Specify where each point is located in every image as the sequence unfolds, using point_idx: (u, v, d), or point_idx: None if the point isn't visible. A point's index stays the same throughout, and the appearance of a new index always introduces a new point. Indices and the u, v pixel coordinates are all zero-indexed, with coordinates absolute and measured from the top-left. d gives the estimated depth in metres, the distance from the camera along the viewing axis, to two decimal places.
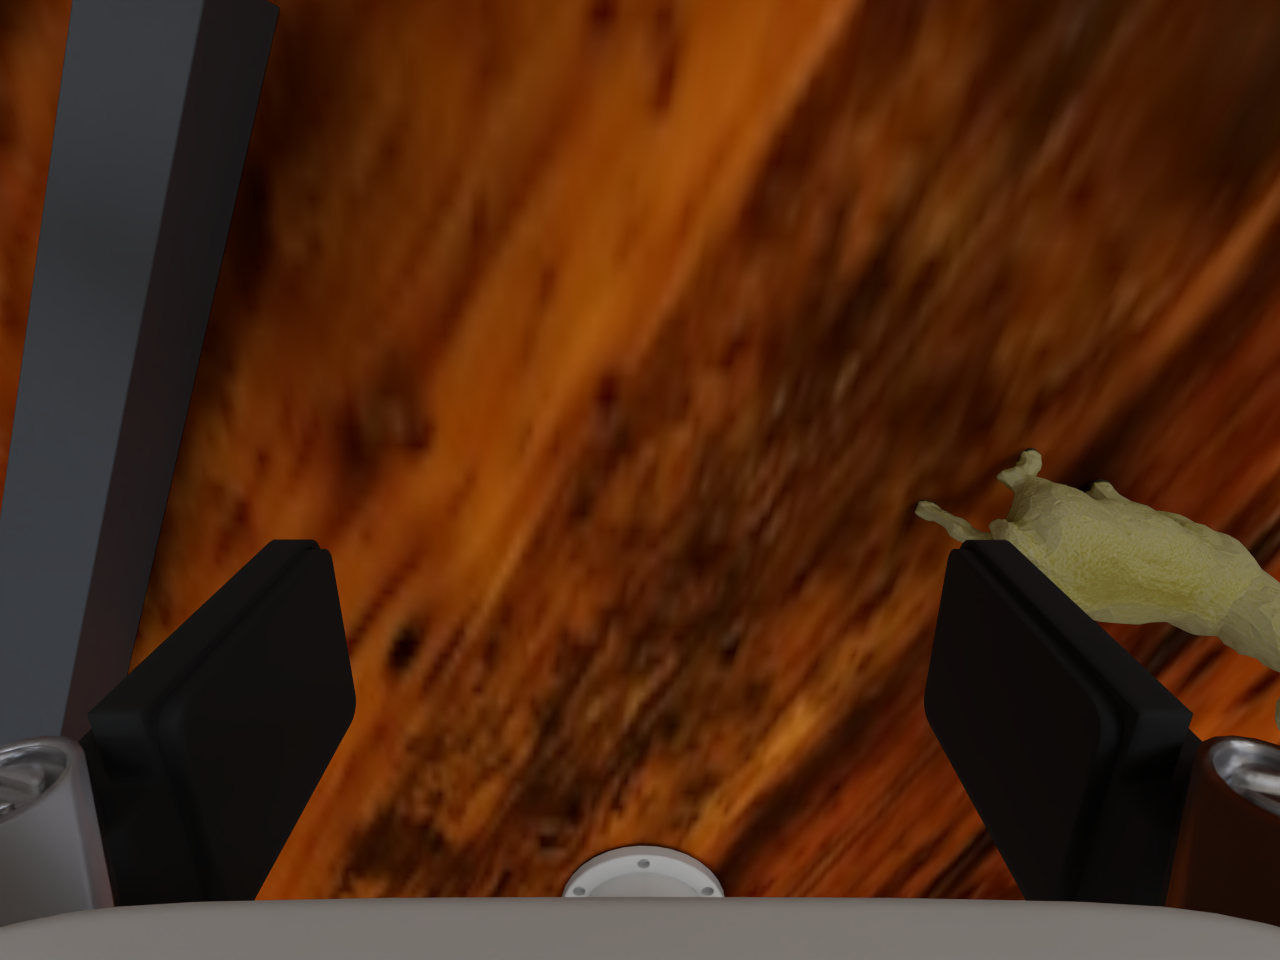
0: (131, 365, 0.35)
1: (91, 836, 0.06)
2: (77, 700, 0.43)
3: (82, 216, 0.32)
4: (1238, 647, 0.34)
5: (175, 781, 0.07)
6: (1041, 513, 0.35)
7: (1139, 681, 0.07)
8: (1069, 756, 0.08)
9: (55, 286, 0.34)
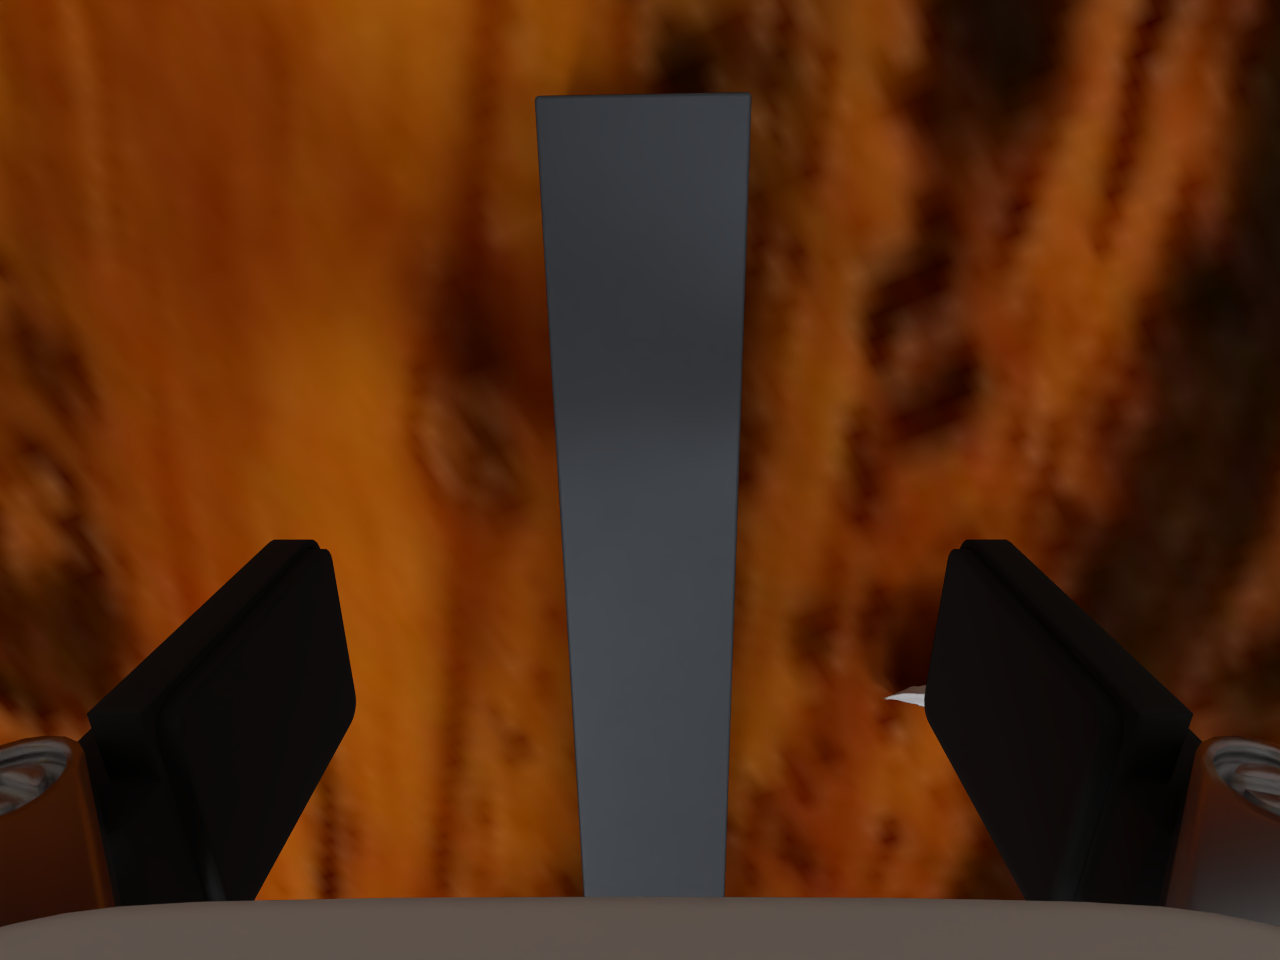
0: None
1: (92, 836, 0.06)
2: None
3: None
4: None
5: (175, 781, 0.07)
6: None
7: (1139, 681, 0.07)
8: (1069, 756, 0.08)
9: None
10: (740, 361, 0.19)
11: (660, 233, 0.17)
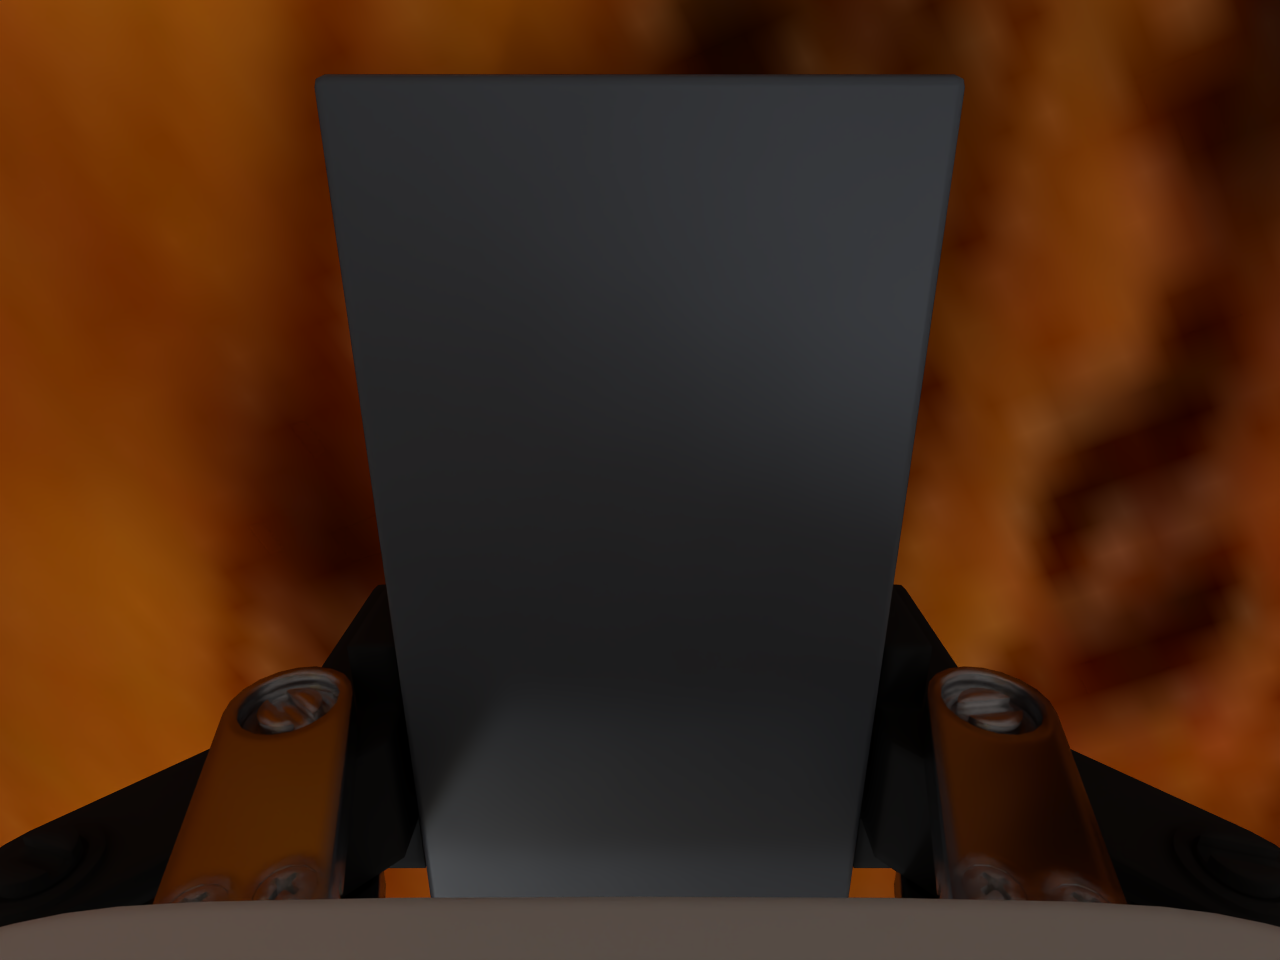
0: None
1: (335, 776, 0.06)
2: None
3: None
4: None
5: None
6: None
7: (900, 622, 0.08)
8: None
9: None
10: (867, 736, 0.08)
11: (681, 453, 0.06)
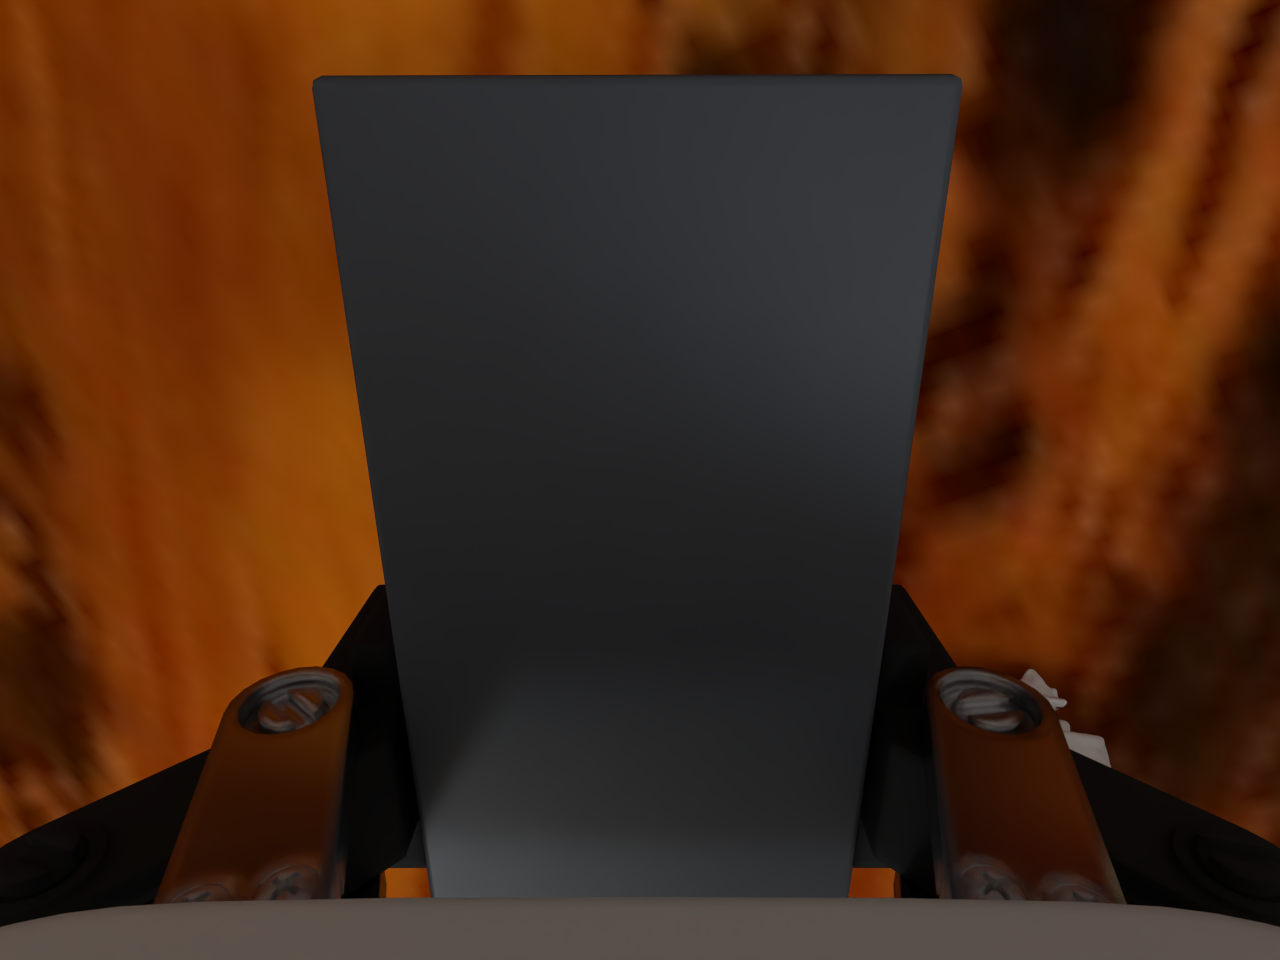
0: None
1: (336, 776, 0.06)
2: None
3: None
4: None
5: None
6: None
7: (899, 622, 0.08)
8: None
9: None
10: (867, 736, 0.08)
11: (679, 453, 0.06)
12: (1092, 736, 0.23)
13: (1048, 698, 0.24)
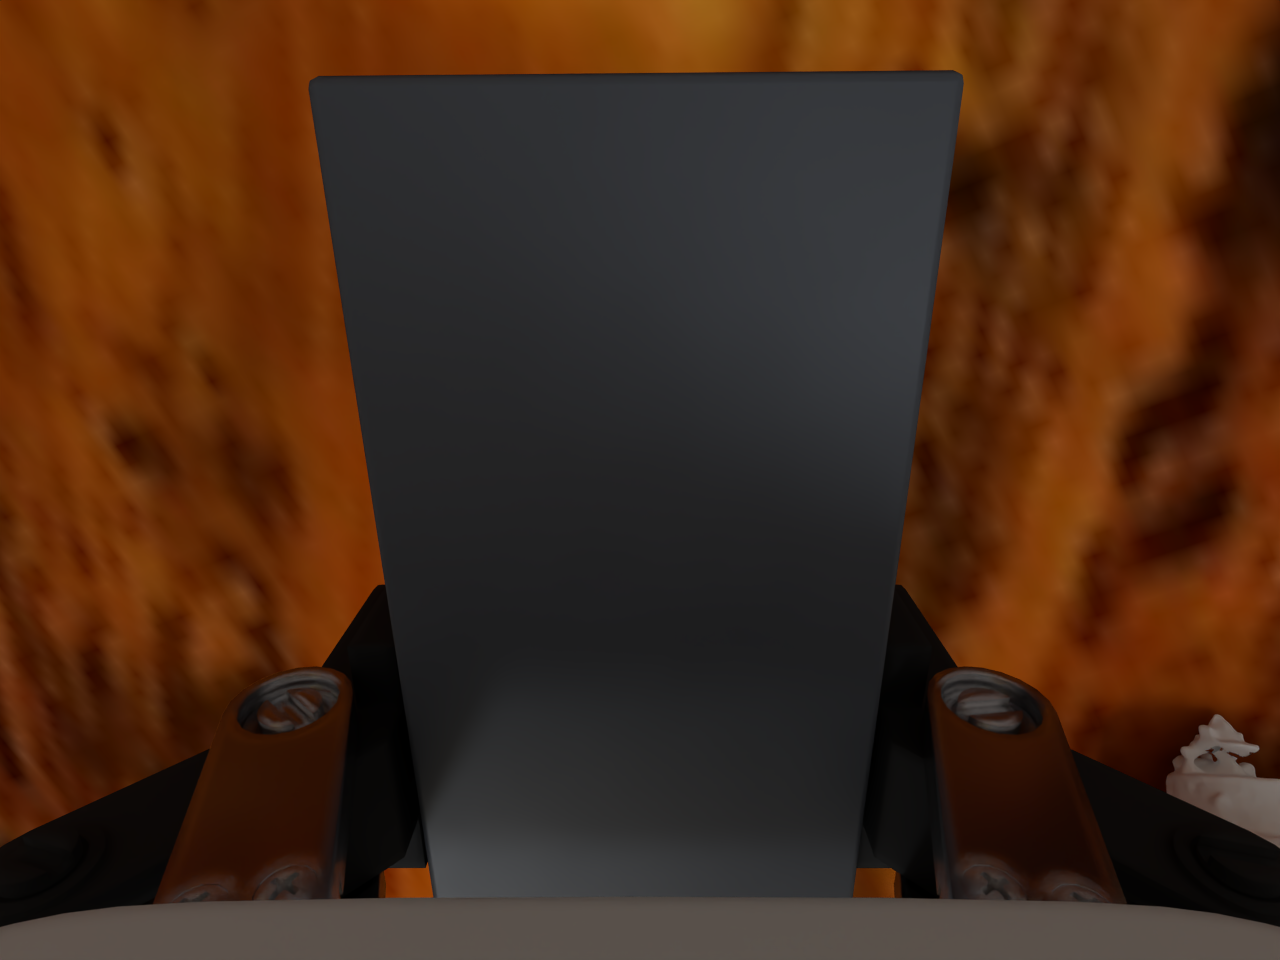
0: None
1: (335, 776, 0.06)
2: None
3: None
4: None
5: None
6: None
7: (899, 622, 0.08)
8: None
9: None
10: (870, 736, 0.08)
11: (679, 454, 0.06)
12: None
13: (1243, 744, 0.25)
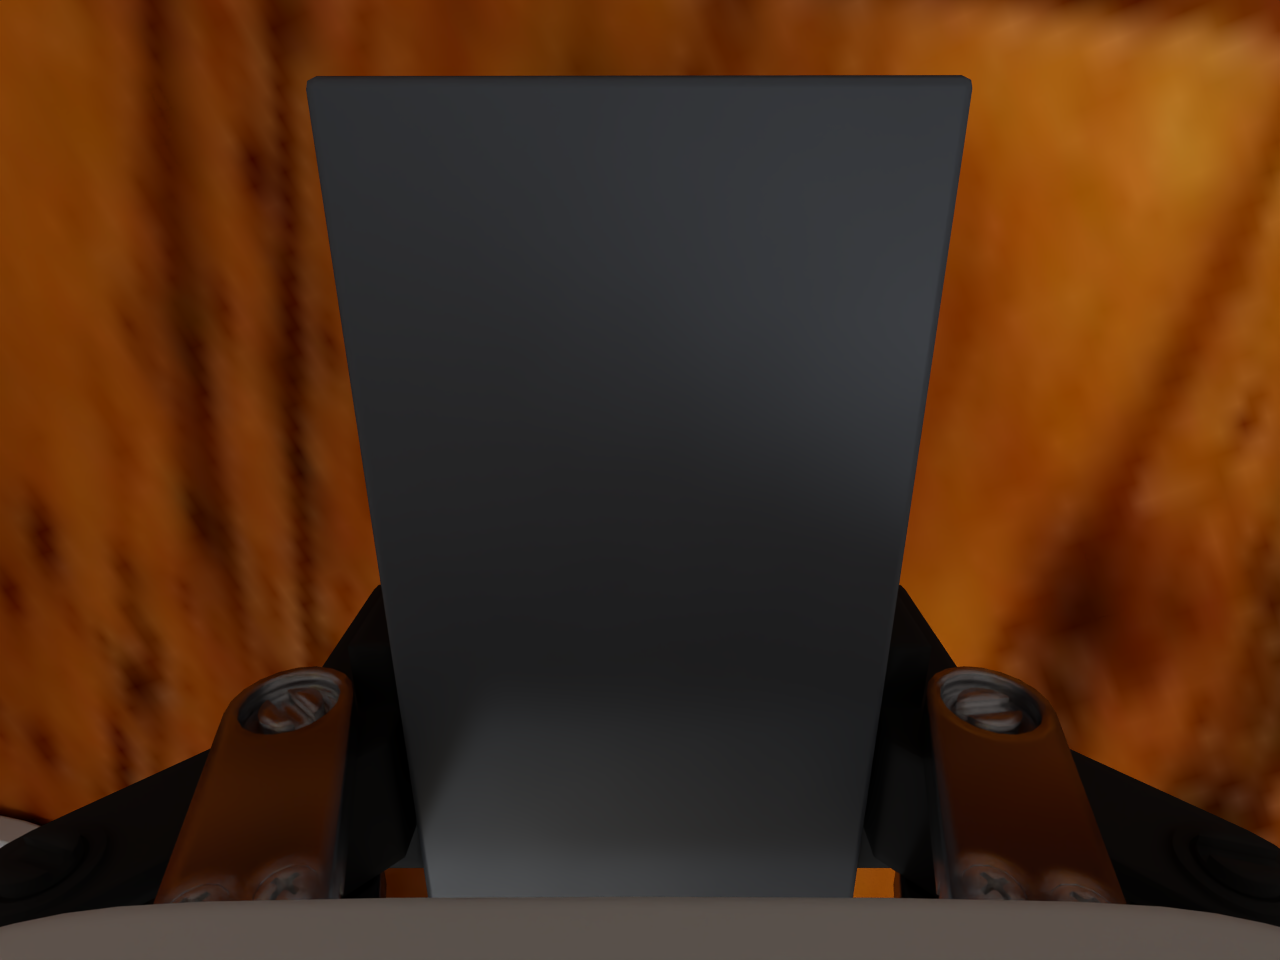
0: None
1: (336, 776, 0.06)
2: None
3: None
4: None
5: None
6: None
7: (898, 622, 0.08)
8: None
9: None
10: (871, 746, 0.08)
11: (682, 461, 0.06)
12: None
13: None
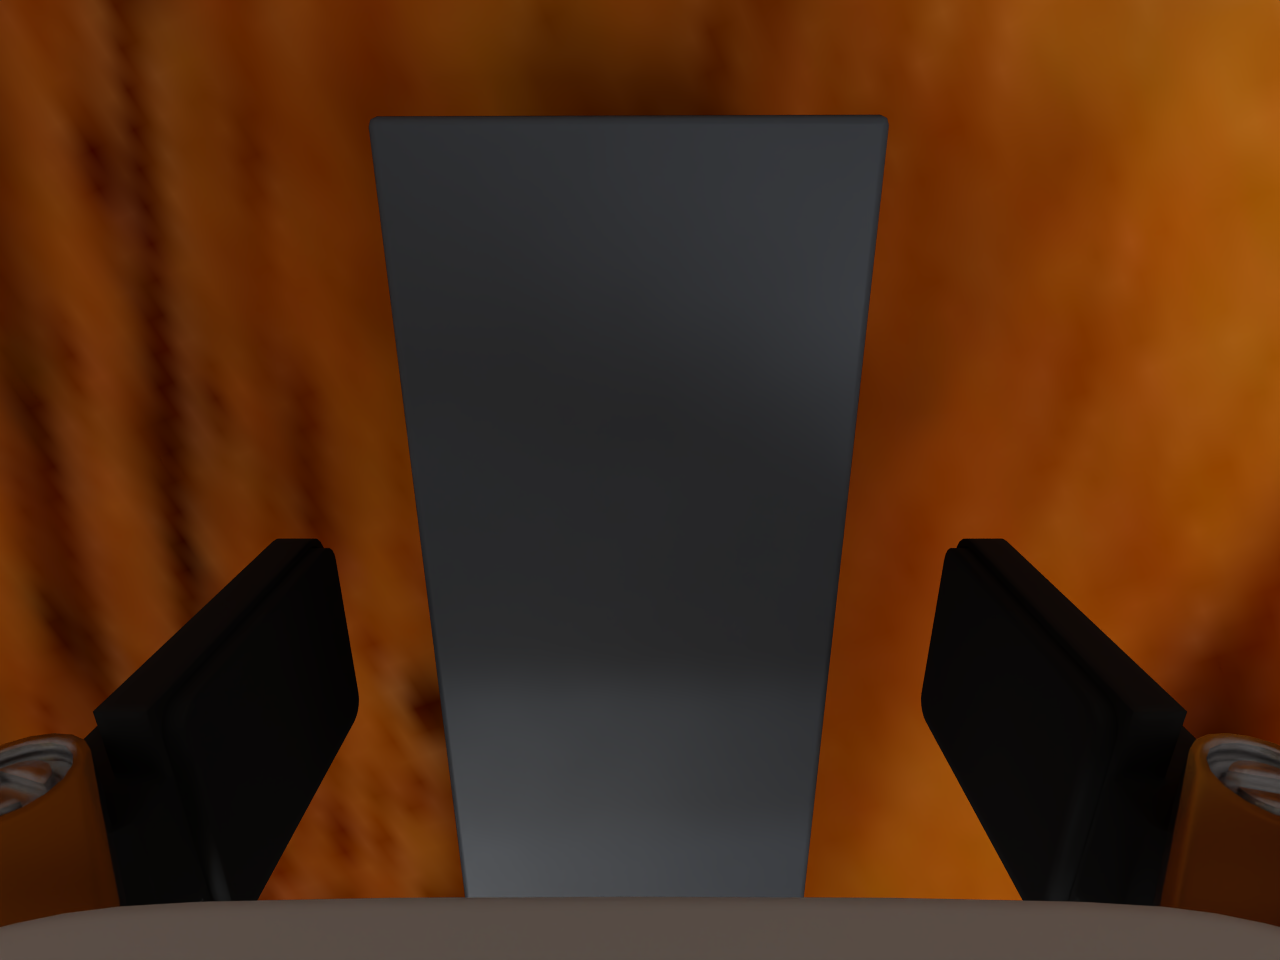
0: None
1: (97, 834, 0.06)
2: None
3: None
4: None
5: (180, 779, 0.07)
6: None
7: (1133, 679, 0.07)
8: (1064, 754, 0.08)
9: None
10: (825, 666, 0.09)
11: (665, 423, 0.08)
12: None
13: None
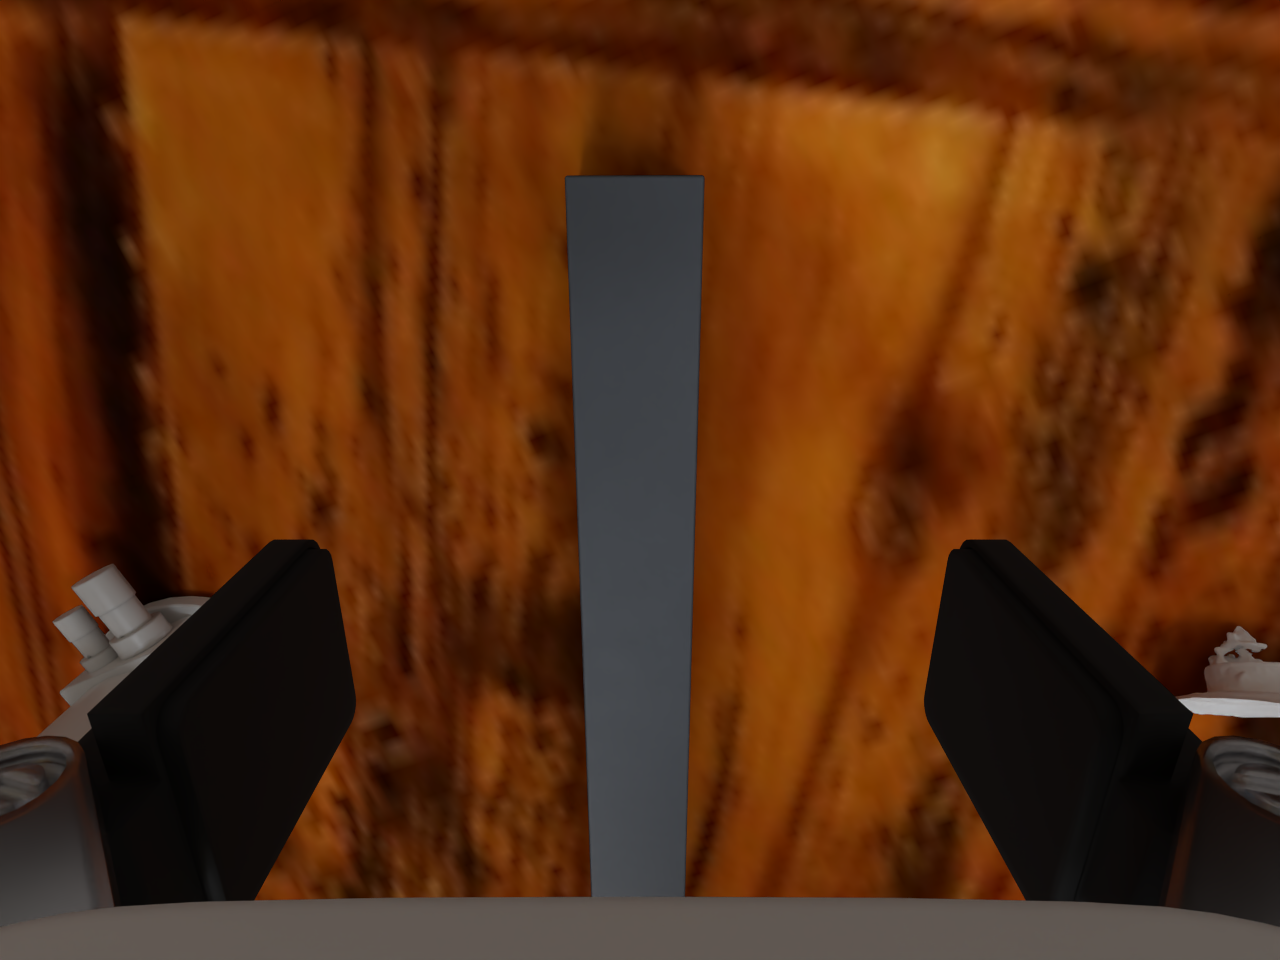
0: None
1: (91, 836, 0.06)
2: None
3: None
4: None
5: (175, 781, 0.07)
6: None
7: (1139, 681, 0.07)
8: (1069, 756, 0.08)
9: None
10: (698, 349, 0.28)
11: (645, 263, 0.27)
12: None
13: (1256, 643, 0.38)
